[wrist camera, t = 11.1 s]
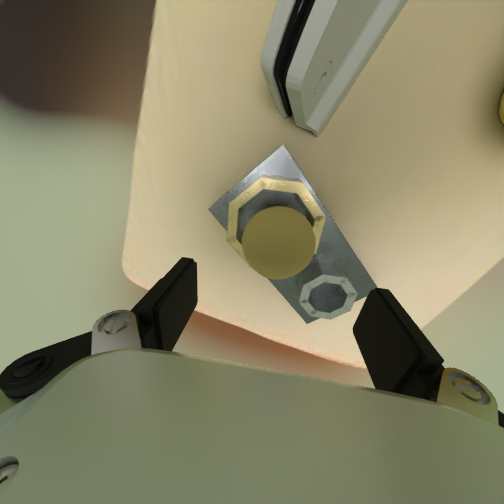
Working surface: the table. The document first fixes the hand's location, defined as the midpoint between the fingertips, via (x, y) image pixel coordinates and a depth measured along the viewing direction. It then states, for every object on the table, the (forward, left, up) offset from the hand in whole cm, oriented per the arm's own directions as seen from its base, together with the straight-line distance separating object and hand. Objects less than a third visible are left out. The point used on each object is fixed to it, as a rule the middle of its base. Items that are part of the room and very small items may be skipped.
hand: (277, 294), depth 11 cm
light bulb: (0, 0, -15) cm, 15 cm away
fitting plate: (0, +5, -16) cm, 17 cm away
